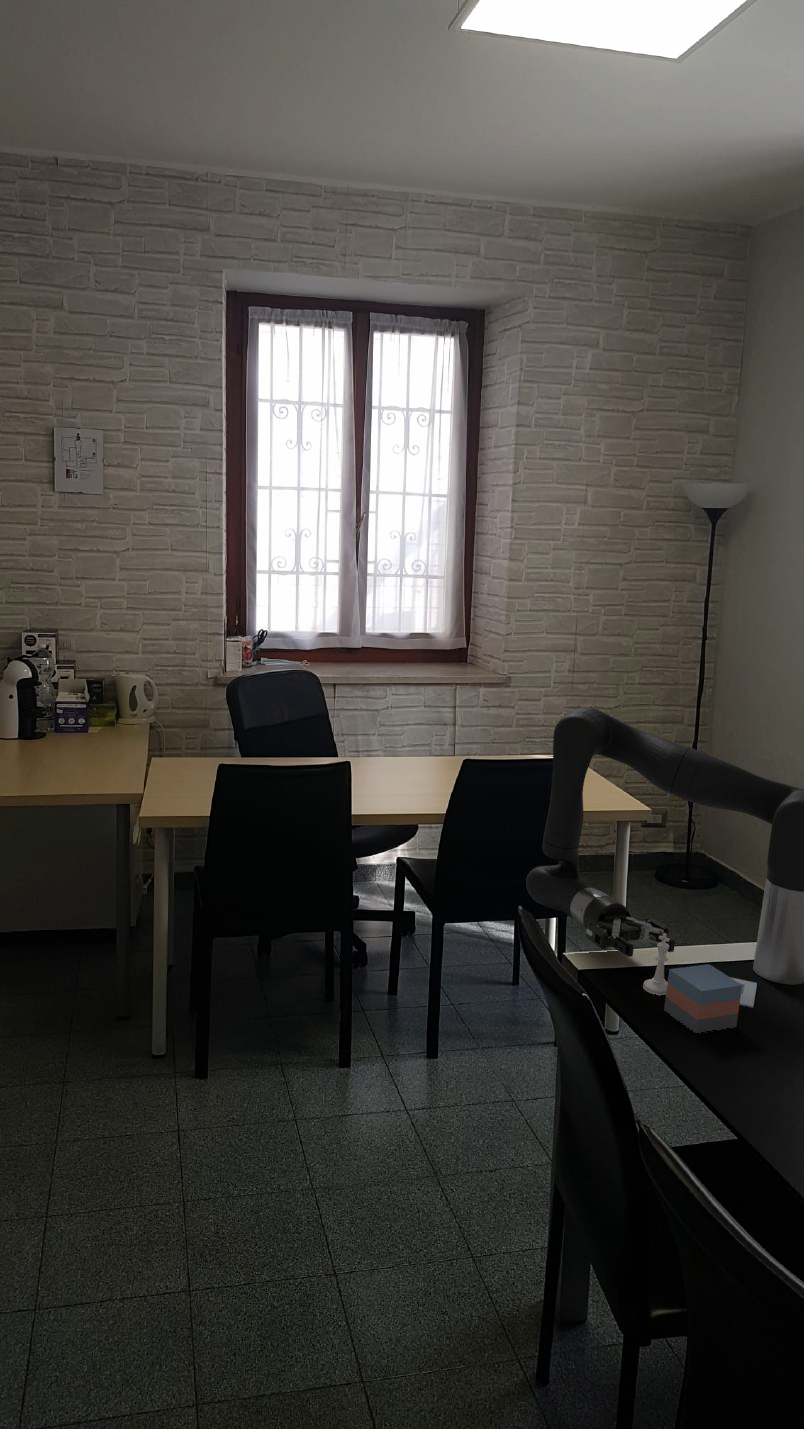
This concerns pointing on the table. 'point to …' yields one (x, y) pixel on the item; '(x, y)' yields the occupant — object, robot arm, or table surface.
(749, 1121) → the table surface
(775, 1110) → the table surface
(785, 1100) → the table surface
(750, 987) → the picture card
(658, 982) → the chess piece
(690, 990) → the brick tower
